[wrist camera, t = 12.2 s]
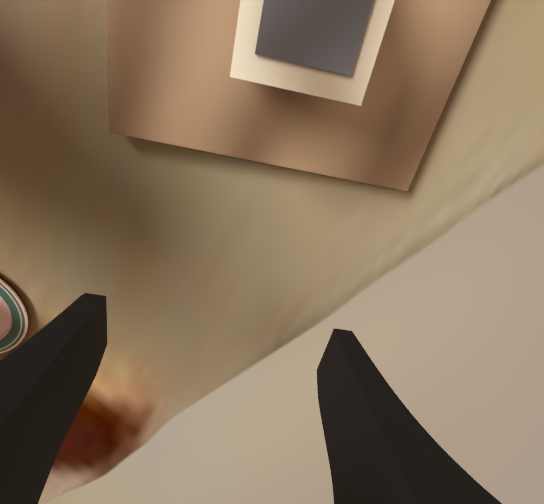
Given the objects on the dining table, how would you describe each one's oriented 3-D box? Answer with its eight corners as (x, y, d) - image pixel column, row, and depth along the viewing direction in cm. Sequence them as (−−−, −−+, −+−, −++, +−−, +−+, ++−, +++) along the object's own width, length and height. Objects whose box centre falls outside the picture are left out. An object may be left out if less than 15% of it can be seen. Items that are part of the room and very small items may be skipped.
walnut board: (118, 124, 18) (109, 132, 17) (117, -277, 11) (103, -305, 10) (399, 181, 20) (407, 191, 19) (533, -136, 13) (555, -148, 12)
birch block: (238, 56, 15) (229, 77, 11) (259, -90, 13) (259, -137, 9) (334, 78, 16) (362, 107, 11) (371, -58, 13) (424, -87, 9)
